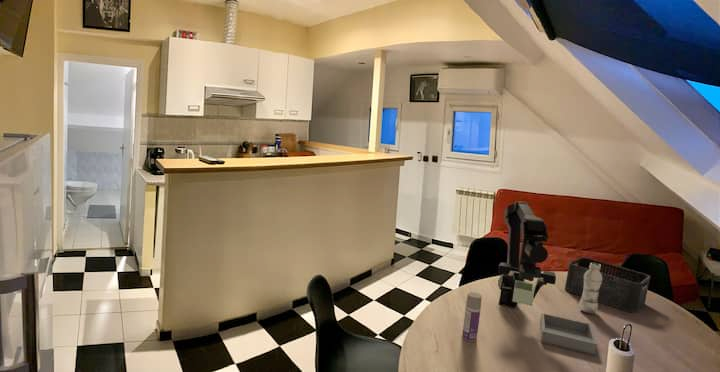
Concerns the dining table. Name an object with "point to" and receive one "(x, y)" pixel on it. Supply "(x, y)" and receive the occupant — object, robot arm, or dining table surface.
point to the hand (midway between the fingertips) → (523, 295)
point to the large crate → (567, 334)
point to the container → (471, 317)
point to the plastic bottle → (591, 289)
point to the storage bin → (610, 284)
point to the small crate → (523, 292)
